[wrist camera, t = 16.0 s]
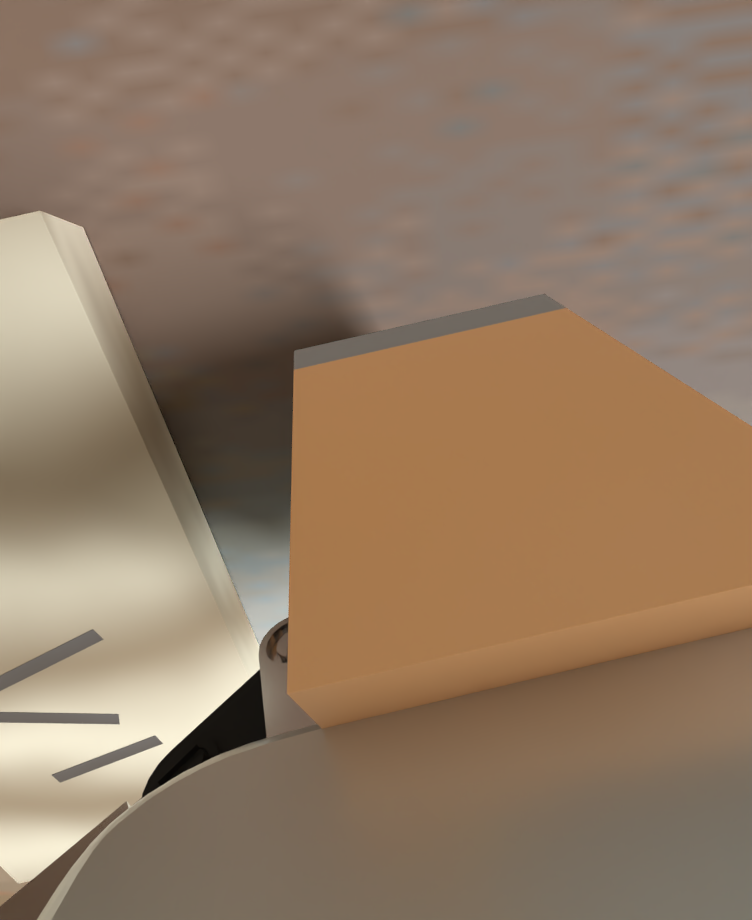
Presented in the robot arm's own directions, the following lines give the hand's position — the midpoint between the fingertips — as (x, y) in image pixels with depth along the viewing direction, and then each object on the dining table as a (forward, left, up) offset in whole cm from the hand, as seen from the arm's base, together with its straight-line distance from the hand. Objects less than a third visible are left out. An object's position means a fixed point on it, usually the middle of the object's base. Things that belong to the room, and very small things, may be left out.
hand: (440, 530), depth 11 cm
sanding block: (-3, 0, +1) cm, 3 cm away
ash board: (+2, -14, -2) cm, 14 cm away
